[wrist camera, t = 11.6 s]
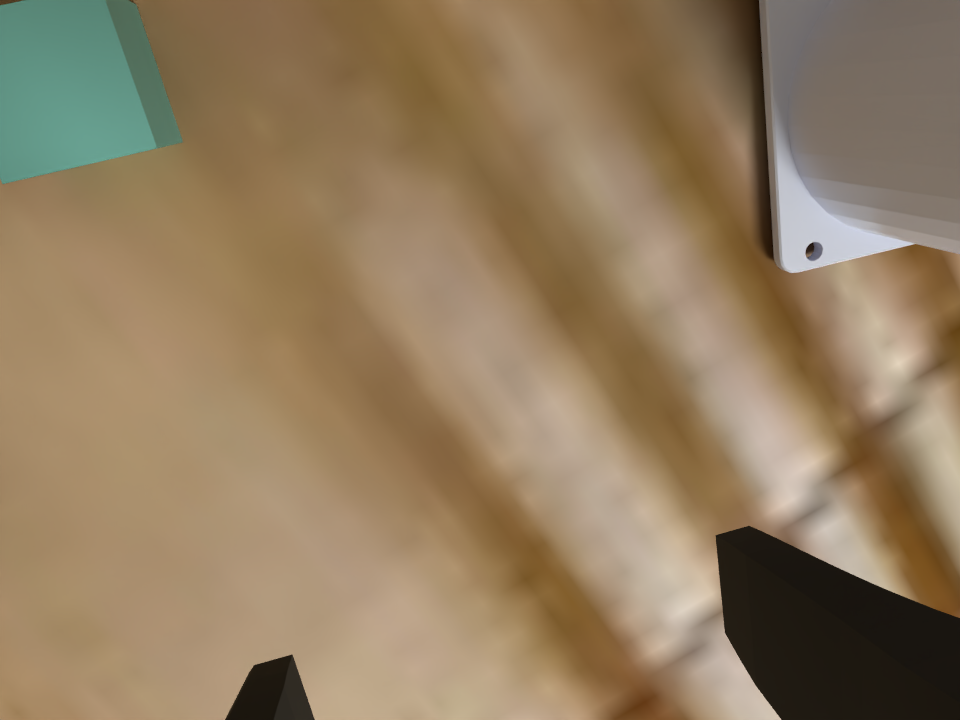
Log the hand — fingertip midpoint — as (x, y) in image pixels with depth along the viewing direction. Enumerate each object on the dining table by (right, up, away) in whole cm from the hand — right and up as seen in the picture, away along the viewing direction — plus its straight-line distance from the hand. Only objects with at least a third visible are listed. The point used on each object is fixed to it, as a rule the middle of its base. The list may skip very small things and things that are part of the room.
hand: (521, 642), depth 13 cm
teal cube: (-9, +11, +5) cm, 15 cm away
